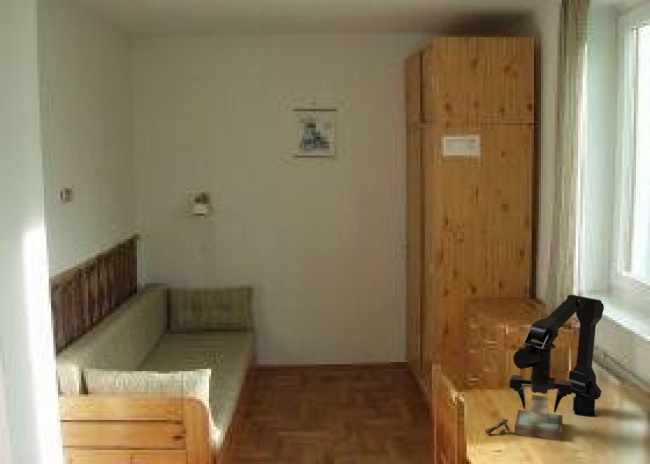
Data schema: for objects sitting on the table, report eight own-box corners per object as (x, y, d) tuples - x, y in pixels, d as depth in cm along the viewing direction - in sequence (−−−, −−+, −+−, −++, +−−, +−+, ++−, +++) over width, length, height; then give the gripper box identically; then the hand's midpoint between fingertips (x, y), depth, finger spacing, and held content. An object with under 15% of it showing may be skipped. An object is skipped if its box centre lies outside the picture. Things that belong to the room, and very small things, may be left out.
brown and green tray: (562, 424, 224) (562, 414, 223) (561, 441, 211) (561, 430, 210) (517, 418, 228) (518, 409, 228) (514, 434, 215) (514, 424, 215)
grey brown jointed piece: (513, 430, 217) (508, 418, 216) (492, 442, 215) (487, 430, 214) (510, 428, 219) (505, 416, 218) (489, 440, 217) (484, 428, 216)
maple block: (547, 417, 221) (548, 396, 220) (547, 423, 216) (547, 402, 215) (531, 415, 222) (532, 394, 221) (530, 421, 218) (531, 400, 217)
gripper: (508, 367, 212) (507, 416, 214) (572, 374, 206) (570, 423, 208) (511, 357, 223) (510, 403, 225) (572, 363, 217) (570, 410, 218)
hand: (539, 410), depth 219 cm, fingers open, 9 cm apart
